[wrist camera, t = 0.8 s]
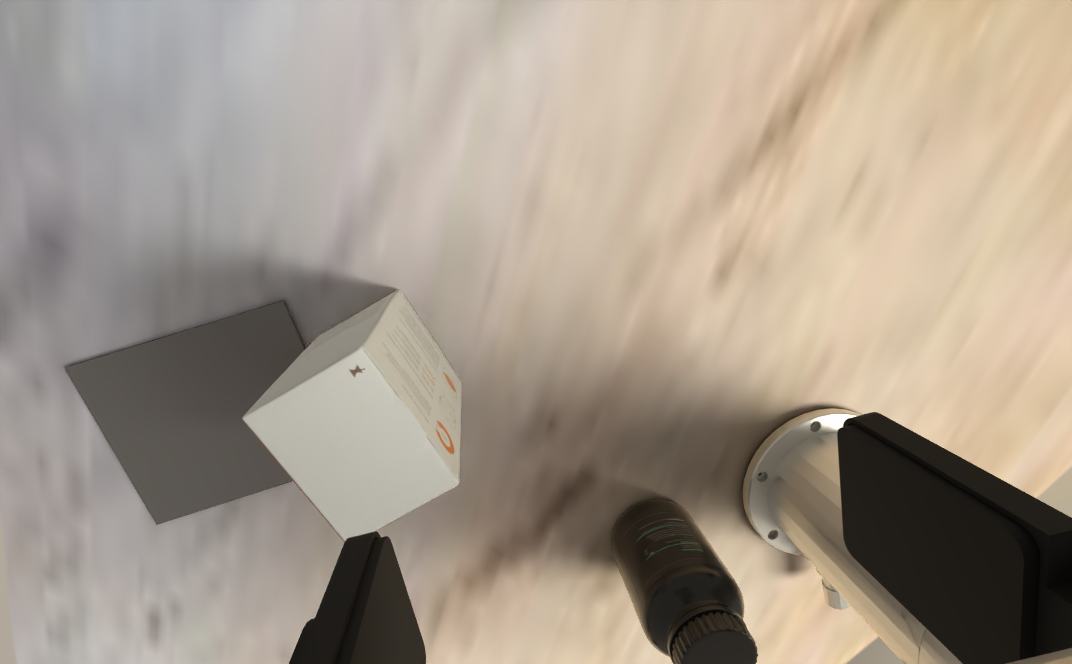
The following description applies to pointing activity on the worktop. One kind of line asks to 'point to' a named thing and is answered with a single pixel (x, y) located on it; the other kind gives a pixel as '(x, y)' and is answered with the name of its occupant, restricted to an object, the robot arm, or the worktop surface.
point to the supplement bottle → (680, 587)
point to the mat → (192, 409)
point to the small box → (366, 419)
